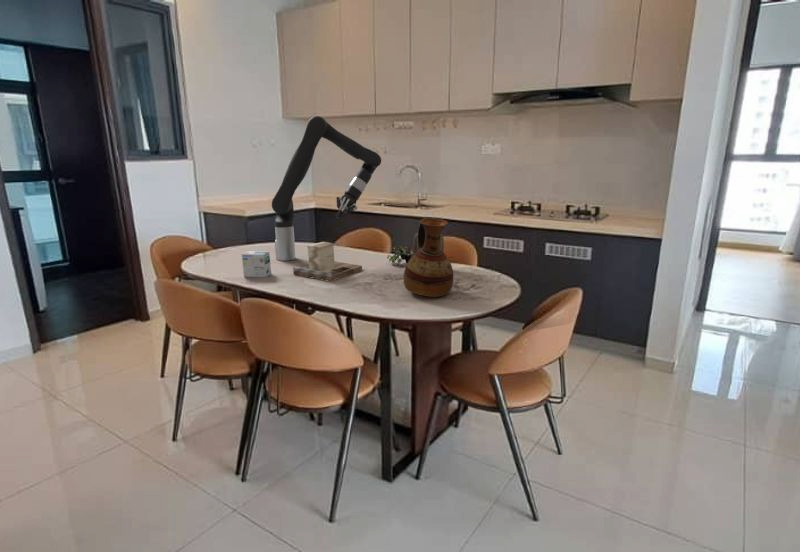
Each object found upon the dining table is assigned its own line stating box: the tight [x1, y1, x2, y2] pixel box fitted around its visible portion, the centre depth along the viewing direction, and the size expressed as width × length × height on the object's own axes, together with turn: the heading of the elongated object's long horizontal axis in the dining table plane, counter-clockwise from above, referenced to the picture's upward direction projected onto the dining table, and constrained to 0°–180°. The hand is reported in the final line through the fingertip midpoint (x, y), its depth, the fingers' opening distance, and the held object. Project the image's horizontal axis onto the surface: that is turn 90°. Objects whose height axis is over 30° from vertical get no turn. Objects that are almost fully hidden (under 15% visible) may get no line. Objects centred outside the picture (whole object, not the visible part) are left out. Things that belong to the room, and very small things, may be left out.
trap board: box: [292, 260, 363, 282], centre depth 217 cm, size 22×23×4 cm
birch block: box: [307, 241, 335, 272], centre depth 212 cm, size 6×10×12 cm, turn 148°
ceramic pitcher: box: [403, 217, 454, 297], centre depth 182 cm, size 20×20×30 cm
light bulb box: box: [241, 250, 272, 278], centre depth 211 cm, size 11×7×11 cm, turn 84°
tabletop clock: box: [411, 216, 445, 255], centre depth 217 cm, size 14×9×25 cm, turn 83°
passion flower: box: [386, 245, 413, 267], centre depth 229 cm, size 11×11×12 cm
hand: (337, 217), depth 230 cm, fingers closed
